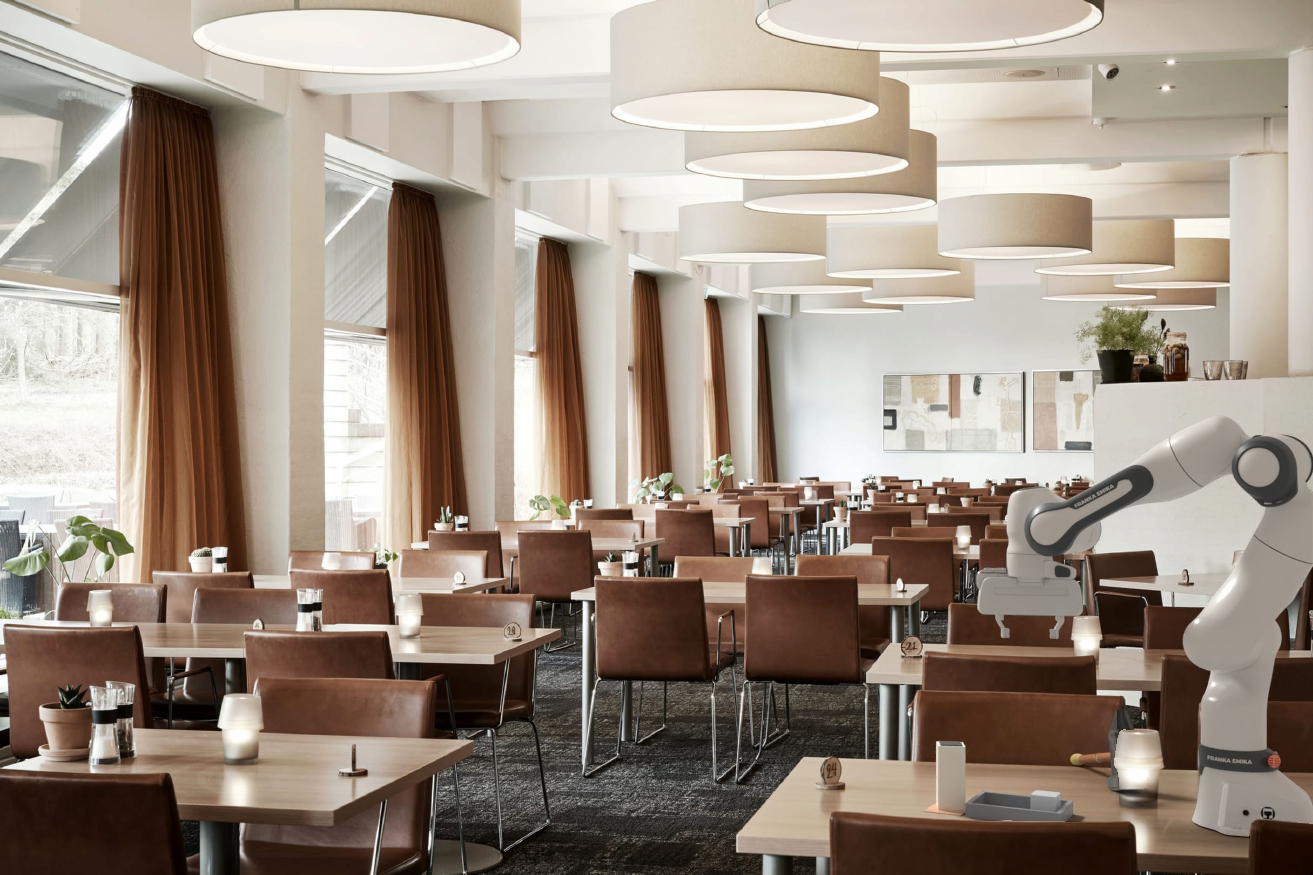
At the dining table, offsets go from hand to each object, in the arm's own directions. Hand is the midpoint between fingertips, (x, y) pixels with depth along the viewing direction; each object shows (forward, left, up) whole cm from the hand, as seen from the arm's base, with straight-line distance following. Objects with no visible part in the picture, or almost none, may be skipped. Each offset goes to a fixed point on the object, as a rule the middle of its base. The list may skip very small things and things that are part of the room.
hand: (1029, 638), depth 278 cm
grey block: (-7, +20, -31) cm, 37 cm away
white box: (+10, +20, -30) cm, 38 cm away
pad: (+11, +20, -31) cm, 38 cm away
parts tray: (-2, +20, -31) cm, 37 cm away
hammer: (-10, -24, -32) cm, 41 cm away
